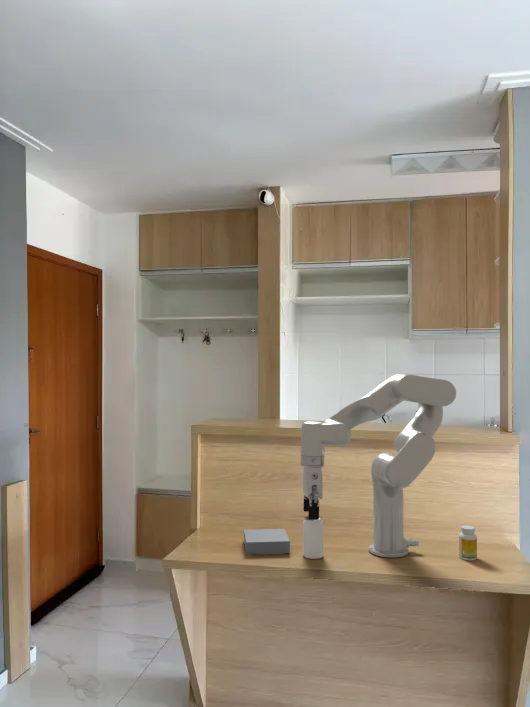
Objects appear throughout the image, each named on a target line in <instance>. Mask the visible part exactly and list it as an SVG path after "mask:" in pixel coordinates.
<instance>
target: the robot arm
mask: <svg viewBox="0 0 530 707" xmlns="http://www.w3.org/2000/svg"><path fill="white" fill-rule="evenodd" d="M456 397H457V389H456V387H455V386H454V384H453V383H452V382H451V381H449V380H447V379H441V378H434V377H427V376H420V375H415V374H408V373H397V374H394V375H392V376H391V377H389V378H386V380H385V381H383V382H382V383H380V384H379V385H378V386H376V387H375V388H374V389H373V390H371V391H370V392H368V393H367V394H366V395H363V397H361V398H359V399H357V400H355V401H353V402H352V403H350V404H348V405H346V406H345V407H343V408H341V409H339V410H338V411H336V412H335V413H334V414H333V415H331V416H330V417H328V418H327V419H326V420H324V422H320V421H305V422H303V423H302V424H301V431H300V432H301V433H300V435H301V436H300V437H301V438H300V464H299V465H300V466H301V467H303V472H302V473H303V474H302V492H303V509H302V510H303V512H304V513H306V512H308V518H309V519H310V520H318V519H319V517H320V501H319V500H322V499H323V496H324V495H323V494H324V493H323V490H324V489H323V486H324V485H323V470H322V468H323V467H325V451H326V450H325V449H326V448H325V447H326V445H327V446H334V447H342V446H345V445H347V444H348V443H349V442H350V440H351V439H352V431H351V430H352V429H354V428H355V427H357V426H359V425H362V424H364V423H368V422H369V423H370V422H372V421H376V420H378V419H381V418H382V417H383V416H384V415H386V414H387V413H389V412H390V411H391V410H392V409H394V408H395V407H397V406H398V405H400V404H401V403H402V402H404V401H406V402H411V403H417V404H418V408H417V411H416V413H415V415H414V416H412V418H411V420H410V421H409V422H408V423H407V424H406V425H405V427H404V428H403V429H402V430H401V431H400V432H399V433H398V435H397V436H396V438H395V440H394V448H395V450H396V452H397V454H393V453H390V452H382V453H379V454H378V455H377V456H375V458H374V459H373V461H372V462H371V467H370V468H371V470H370V472H371V473H370V474H371V480H372V482H371V483H372V491H373V492H372V493H373V495H372V496H373V502H372V503H373V510H372V512H373V543H372V544H370V545H369V546H368V551H369V553H370V554H373V555H374V556H377V557H382V558H389V559H390V558H391V559H393V558H394V559H395V558H403V557H406V556H408V554H409V548H410V547H419V545H420V544H419V540H418V539H415V540H414V539H412V538H405V537H404V534H405V533H404V489H406V488H407V487H409V486H410V485H412V483H414V482H415V480H416V479H417V478H418V477H419V476H420V474H421V473H422V472H423V471H424V470H425V468H426V467H427V466H428V464H430V462H431V461H432V459H433V458H434V456H435V454H436V448H437V446H436V441H435V439H434V437H433V436H434V435H435V433H437V431H438V429H439V428H440V426H441V424H442V422H443V416H444V407H447V406H449V405H451V404H452V403H454V401H455V399H456Z"/></svg>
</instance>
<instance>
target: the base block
mask: <svg viewBox="0 0 530 707" xmlns="http://www.w3.org/2000/svg"><path fill="white" fill-rule="evenodd" d="M243 544H245V545H244V549H245V550H244V551H245V554H246V556H253V555H252V554H265V555H284V554H283V553H290V554H291V541H290V538H289V535H288V534H287V531H286V529H285V528H271V529H270V528H268V529H266V528H265V529H263V528H262V529H244V530H243Z"/></svg>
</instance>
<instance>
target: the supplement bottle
mask: <svg viewBox="0 0 530 707" xmlns="http://www.w3.org/2000/svg"><path fill="white" fill-rule="evenodd" d="M460 529H461V530H460V531H461V532H460V533H459V534H458V557H459V558H460V559H461V560H463V561H464V560H465V561H472V562H473V561H476V560H477V558H478V537H477V534H476V533H475V532H476V529H475V526H471V525H462V526H461V527H460Z"/></svg>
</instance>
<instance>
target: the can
mask: <svg viewBox="0 0 530 707" xmlns="http://www.w3.org/2000/svg"><path fill="white" fill-rule="evenodd" d="M302 555H303V557H304V558H305V557H306V558H305V559H308V560H319V559H322V558H323V557H324V521H323V517H321V516H319V519H318V520H310V519H309V518H308V516H305V517H304V519H303V522H302Z"/></svg>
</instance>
